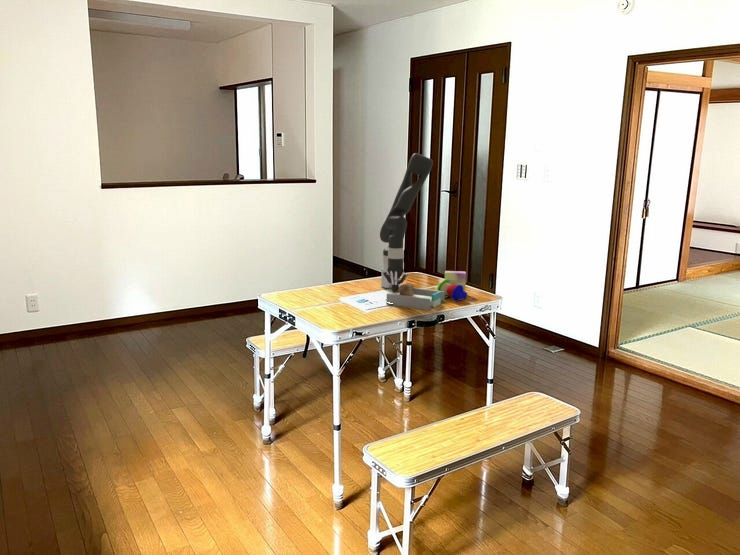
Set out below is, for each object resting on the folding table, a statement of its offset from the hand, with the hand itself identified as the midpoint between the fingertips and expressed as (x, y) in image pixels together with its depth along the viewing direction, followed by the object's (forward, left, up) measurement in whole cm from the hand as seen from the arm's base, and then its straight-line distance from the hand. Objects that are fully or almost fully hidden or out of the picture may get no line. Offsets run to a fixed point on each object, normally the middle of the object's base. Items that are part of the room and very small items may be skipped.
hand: (395, 292), depth 302 cm
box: (+20, +26, -4) cm, 33 cm away
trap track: (+11, 0, -4) cm, 12 cm away
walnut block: (+6, 0, -1) cm, 6 cm away
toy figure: (+23, +15, -4) cm, 28 cm away
